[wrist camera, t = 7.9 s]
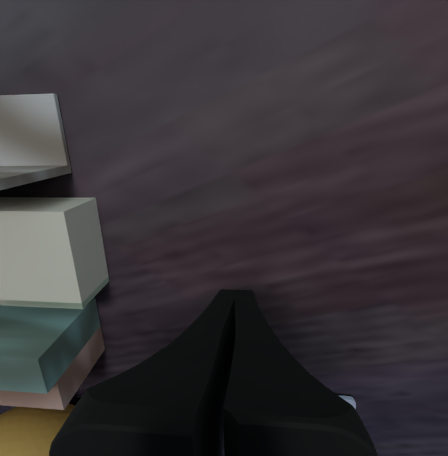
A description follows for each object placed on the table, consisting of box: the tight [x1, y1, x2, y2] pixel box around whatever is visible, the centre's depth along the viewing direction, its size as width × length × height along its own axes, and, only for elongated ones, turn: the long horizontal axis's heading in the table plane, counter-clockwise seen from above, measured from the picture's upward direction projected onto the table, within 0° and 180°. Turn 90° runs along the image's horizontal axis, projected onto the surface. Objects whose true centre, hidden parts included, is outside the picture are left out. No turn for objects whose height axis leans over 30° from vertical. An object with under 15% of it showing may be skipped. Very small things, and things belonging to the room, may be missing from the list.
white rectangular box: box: [0, 197, 109, 309], centre depth 19 cm, size 6×8×4 cm
